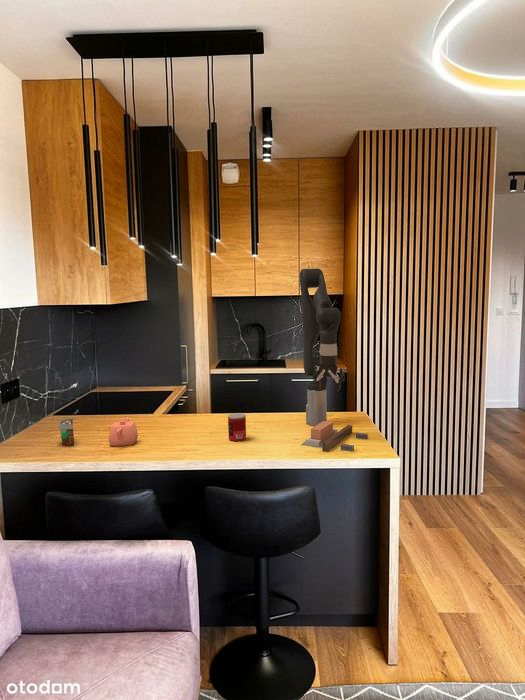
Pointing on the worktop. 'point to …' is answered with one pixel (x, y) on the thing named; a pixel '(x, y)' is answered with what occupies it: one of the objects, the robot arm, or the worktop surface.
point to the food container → (67, 432)
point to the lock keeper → (316, 441)
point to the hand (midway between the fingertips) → (328, 390)
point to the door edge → (336, 438)
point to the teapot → (123, 433)
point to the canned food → (237, 427)
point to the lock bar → (322, 431)
